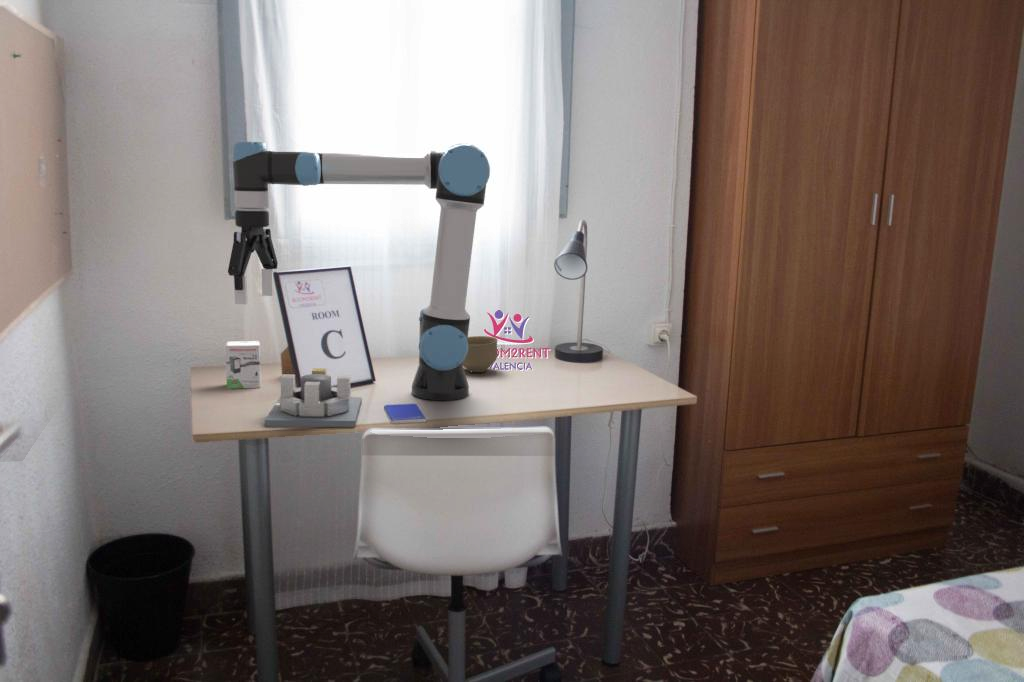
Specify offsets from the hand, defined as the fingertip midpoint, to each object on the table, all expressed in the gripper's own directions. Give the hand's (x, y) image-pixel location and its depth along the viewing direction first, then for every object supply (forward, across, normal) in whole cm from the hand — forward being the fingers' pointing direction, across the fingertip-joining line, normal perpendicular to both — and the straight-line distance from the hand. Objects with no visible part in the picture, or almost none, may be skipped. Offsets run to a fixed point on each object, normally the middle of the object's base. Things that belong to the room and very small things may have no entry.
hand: (255, 299), depth 195 cm
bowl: (+27, -52, +43) cm, 73 cm away
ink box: (+26, -16, -12) cm, 33 cm away
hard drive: (+28, -3, +36) cm, 45 cm away
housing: (+26, +2, +16) cm, 31 cm away
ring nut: (+25, +2, +16) cm, 29 cm away
